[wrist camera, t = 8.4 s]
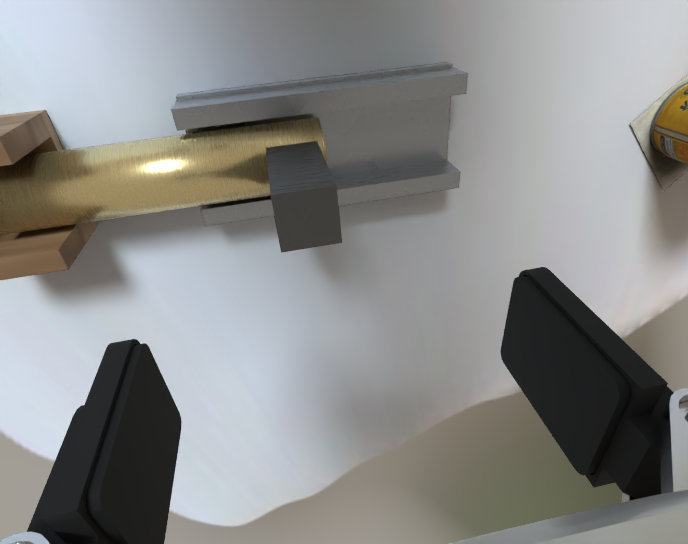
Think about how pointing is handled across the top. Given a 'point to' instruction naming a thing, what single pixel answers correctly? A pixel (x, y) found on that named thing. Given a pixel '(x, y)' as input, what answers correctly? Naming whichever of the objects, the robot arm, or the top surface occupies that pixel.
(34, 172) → the bolt
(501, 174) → the top surface
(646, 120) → the condiment
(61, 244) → the socket
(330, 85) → the channel
